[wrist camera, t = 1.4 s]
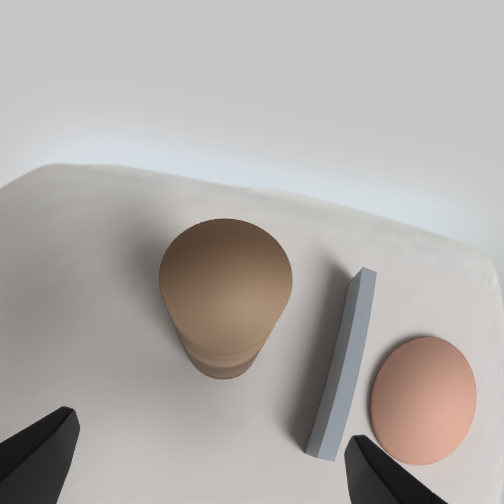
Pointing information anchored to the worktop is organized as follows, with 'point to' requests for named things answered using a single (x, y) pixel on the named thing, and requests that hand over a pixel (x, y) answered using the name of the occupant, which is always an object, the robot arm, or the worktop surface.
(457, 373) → the resting pad
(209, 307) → the walnut cylinder
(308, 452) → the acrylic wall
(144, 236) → the worktop surface
